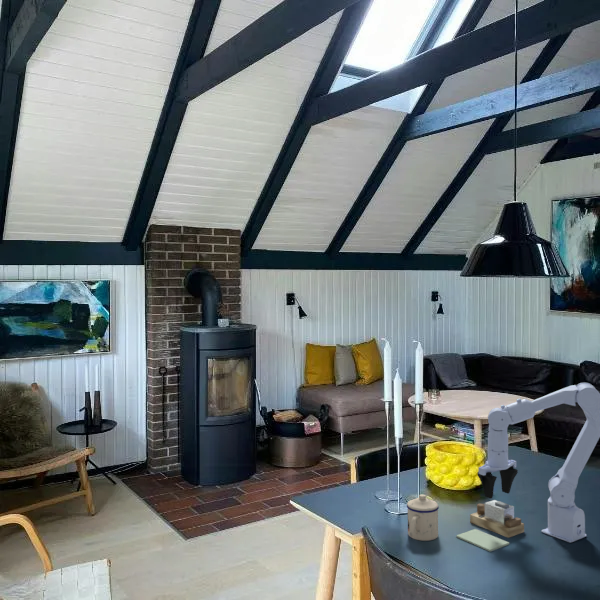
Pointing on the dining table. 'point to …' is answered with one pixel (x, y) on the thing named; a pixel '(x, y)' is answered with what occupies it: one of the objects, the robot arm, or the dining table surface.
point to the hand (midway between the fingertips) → (497, 494)
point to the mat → (482, 540)
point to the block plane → (507, 530)
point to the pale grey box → (498, 511)
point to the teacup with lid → (422, 518)
